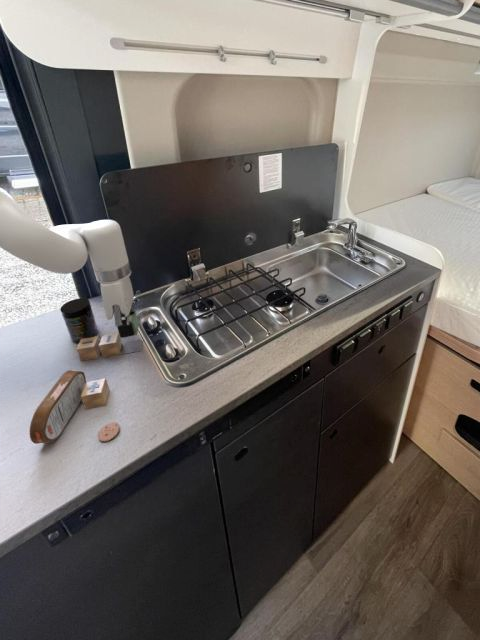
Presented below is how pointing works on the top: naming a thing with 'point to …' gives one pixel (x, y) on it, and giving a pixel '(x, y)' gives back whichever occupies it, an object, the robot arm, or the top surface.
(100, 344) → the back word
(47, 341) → the top surface
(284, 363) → the top surface
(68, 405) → the tin
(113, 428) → the cookie
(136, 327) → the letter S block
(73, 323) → the supplement container
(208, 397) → the top surface
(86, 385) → the front word
